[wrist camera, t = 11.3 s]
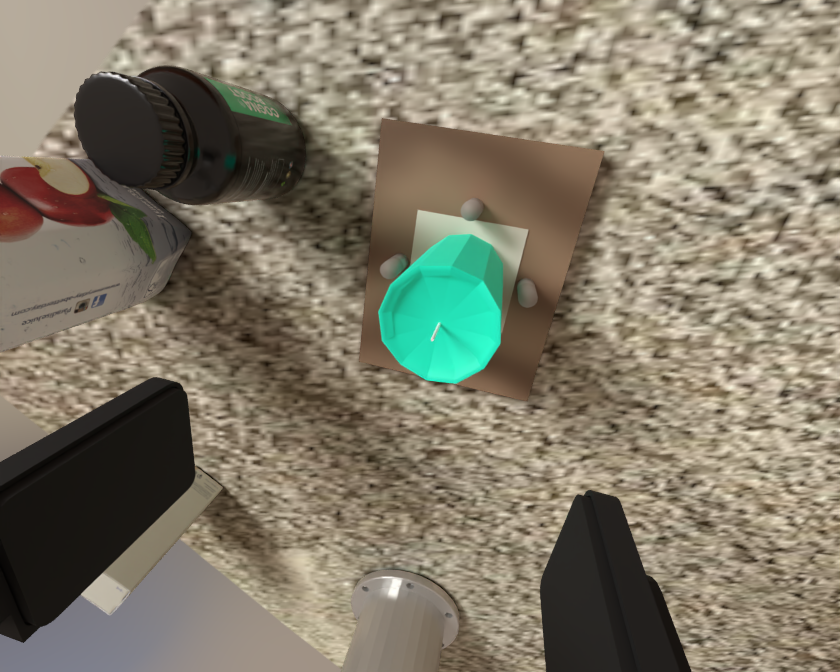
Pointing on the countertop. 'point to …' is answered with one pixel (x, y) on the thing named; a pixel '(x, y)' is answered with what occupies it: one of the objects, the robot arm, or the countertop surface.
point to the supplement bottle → (189, 136)
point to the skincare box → (151, 546)
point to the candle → (446, 310)
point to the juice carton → (76, 246)
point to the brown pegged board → (479, 230)
